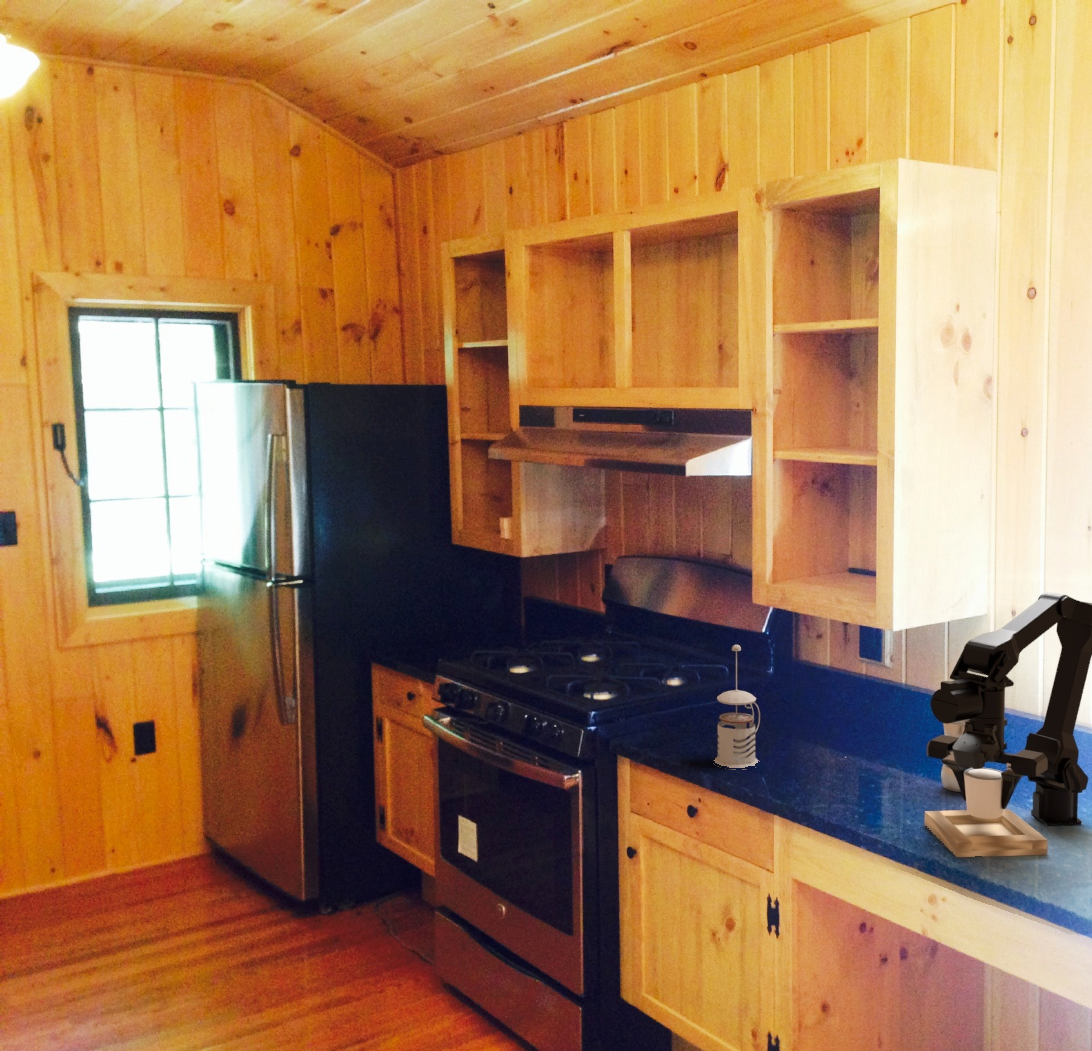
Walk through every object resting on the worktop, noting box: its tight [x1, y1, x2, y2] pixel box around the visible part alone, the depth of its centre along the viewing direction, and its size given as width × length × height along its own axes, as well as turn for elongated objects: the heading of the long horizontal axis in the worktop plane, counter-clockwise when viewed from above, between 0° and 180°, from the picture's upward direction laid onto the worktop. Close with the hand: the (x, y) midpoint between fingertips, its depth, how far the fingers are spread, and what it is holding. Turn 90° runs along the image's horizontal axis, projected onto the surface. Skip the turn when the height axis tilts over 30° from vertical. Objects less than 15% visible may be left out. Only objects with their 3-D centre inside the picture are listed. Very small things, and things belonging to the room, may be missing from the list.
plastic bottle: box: [940, 720, 972, 793], centre depth 225 cm, size 6×7×20 cm
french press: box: [713, 644, 761, 768], centre depth 245 cm, size 10×12×25 cm
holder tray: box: [924, 808, 1049, 858], centre depth 200 cm, size 15×15×2 cm
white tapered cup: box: [964, 767, 1003, 819], centre depth 200 cm, size 7×7×7 cm
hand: (984, 804), depth 200 cm, fingers closed on white tapered cup, 6 cm apart
